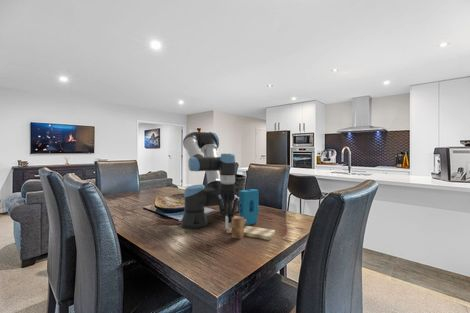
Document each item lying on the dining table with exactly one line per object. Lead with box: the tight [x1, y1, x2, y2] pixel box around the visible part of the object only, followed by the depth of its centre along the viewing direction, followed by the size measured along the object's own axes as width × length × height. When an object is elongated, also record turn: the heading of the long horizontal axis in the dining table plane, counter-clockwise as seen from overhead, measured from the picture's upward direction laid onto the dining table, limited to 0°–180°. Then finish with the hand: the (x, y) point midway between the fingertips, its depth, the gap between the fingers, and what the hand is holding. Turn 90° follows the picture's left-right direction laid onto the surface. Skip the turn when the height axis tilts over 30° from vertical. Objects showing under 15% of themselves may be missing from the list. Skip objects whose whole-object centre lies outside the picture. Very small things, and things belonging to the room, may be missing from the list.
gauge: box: [231, 215, 247, 240], centre depth 118 cm, size 5×12×10 cm, turn 155°
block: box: [238, 188, 260, 226], centre depth 137 cm, size 12×5×20 cm, turn 125°
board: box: [226, 225, 276, 241], centre depth 121 cm, size 24×10×2 cm, turn 65°
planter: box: [218, 173, 247, 213], centre depth 160 cm, size 20×20×26 cm
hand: (227, 228), depth 117 cm, fingers closed
